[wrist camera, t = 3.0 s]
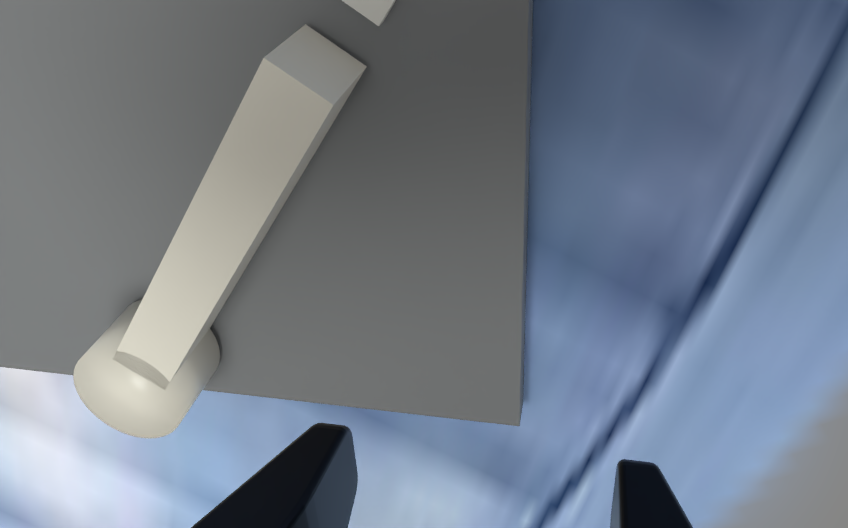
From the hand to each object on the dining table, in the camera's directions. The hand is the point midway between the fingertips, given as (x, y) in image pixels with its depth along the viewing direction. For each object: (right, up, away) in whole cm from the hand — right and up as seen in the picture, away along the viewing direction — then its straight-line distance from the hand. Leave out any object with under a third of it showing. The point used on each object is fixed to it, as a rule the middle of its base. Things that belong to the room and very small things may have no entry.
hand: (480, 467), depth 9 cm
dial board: (-8, +6, +12) cm, 16 cm away
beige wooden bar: (-6, +3, +11) cm, 13 cm away
